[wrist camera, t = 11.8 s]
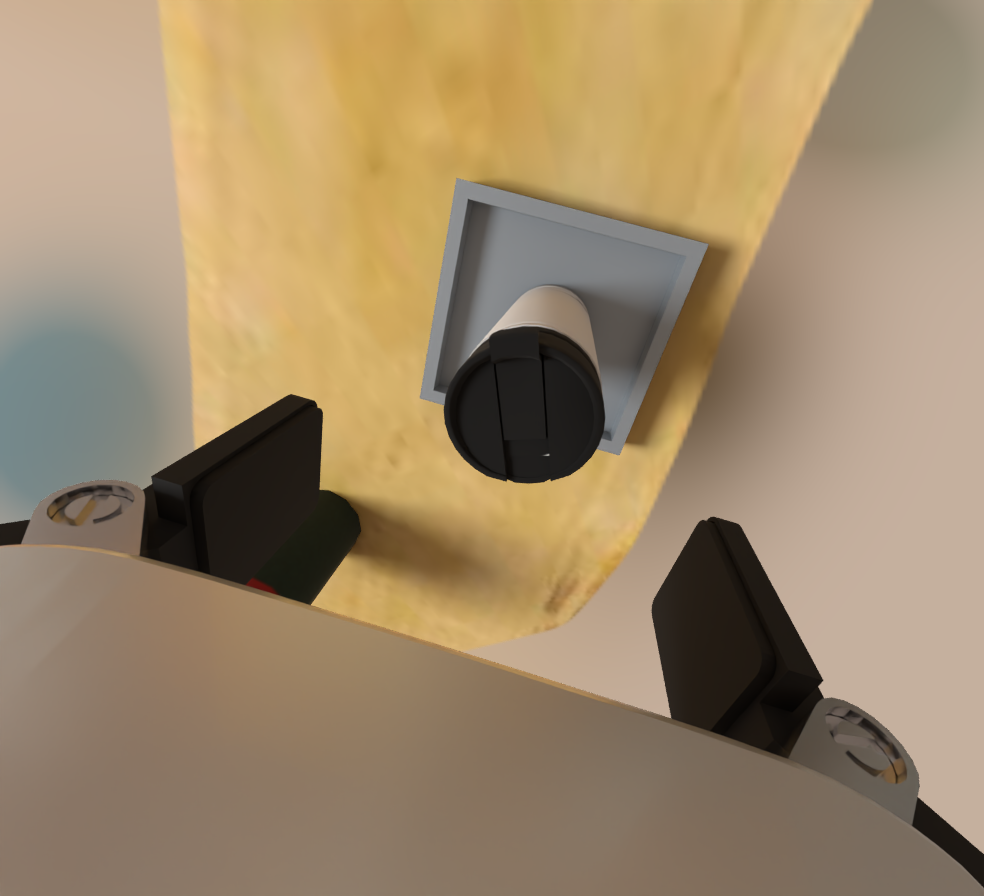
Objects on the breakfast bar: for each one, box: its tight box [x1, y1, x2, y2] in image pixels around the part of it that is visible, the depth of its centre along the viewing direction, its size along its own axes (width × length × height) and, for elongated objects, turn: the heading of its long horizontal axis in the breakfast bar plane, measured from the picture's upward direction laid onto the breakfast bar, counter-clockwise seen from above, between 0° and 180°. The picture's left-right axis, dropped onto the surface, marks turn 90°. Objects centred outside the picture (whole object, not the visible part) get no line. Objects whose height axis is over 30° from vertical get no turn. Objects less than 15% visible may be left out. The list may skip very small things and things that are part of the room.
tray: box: [420, 178, 709, 455], centre depth 34 cm, size 16×17×2 cm
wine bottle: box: [246, 490, 361, 605], centre depth 35 cm, size 8×10×30 cm
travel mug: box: [444, 284, 605, 483], centre depth 25 cm, size 6×7×20 cm
